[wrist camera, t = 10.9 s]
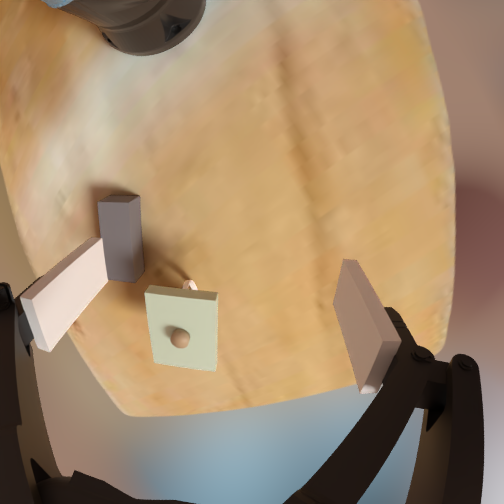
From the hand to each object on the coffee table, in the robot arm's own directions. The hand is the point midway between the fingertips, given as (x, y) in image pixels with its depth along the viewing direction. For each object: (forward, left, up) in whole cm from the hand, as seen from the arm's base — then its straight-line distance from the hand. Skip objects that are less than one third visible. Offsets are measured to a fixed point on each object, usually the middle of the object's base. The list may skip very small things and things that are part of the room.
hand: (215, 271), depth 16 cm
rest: (+9, -18, -26) cm, 33 cm away
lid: (+18, -7, -18) cm, 27 cm away
